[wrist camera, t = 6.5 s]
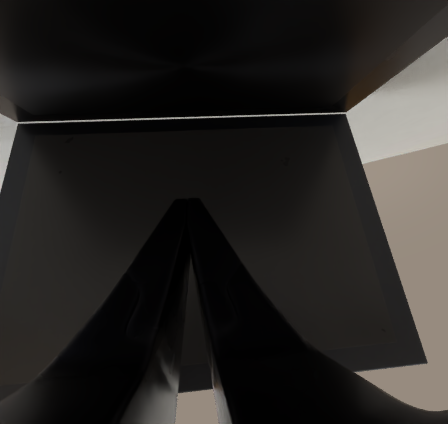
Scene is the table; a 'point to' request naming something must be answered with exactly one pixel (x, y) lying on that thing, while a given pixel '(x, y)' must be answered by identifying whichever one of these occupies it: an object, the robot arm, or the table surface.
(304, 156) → the laptop screen
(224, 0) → the laptop
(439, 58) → the table surface
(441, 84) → the table surface
